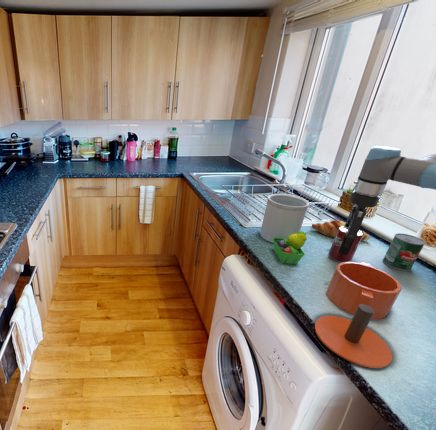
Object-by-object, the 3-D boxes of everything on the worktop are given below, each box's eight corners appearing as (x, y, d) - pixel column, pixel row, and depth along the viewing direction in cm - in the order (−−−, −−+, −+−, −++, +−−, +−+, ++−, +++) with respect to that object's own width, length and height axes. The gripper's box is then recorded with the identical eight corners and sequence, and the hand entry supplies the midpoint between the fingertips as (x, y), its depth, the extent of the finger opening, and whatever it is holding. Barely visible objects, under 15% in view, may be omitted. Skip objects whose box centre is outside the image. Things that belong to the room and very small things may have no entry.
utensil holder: (252, 236, 123) (261, 198, 116) (266, 226, 132) (276, 190, 125) (289, 250, 113) (302, 210, 106) (301, 238, 122) (314, 200, 115)
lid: (387, 338, 74) (407, 305, 70) (393, 383, 63) (416, 347, 58) (316, 310, 83) (329, 279, 78) (310, 346, 72) (325, 312, 67)
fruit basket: (269, 248, 114) (276, 223, 110) (293, 250, 113) (301, 225, 108) (278, 264, 104) (287, 237, 99) (305, 267, 103) (315, 240, 98)
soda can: (332, 262, 106) (344, 234, 101) (324, 252, 112) (334, 225, 107) (354, 265, 104) (367, 236, 99) (345, 255, 111) (357, 227, 106)
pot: (384, 294, 90) (397, 269, 86) (389, 334, 76) (405, 306, 72) (328, 276, 98) (338, 253, 94) (324, 309, 84) (335, 283, 80)
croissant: (363, 245, 125) (367, 227, 125) (374, 245, 115) (378, 226, 115) (307, 233, 132) (311, 216, 133) (313, 232, 123) (317, 214, 123)
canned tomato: (389, 256, 110) (402, 231, 106) (415, 268, 104) (430, 241, 99) (377, 261, 107) (390, 235, 103) (403, 272, 101) (417, 246, 96)
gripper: (353, 181, 108) (333, 230, 117) (352, 200, 90) (328, 256, 99) (378, 186, 104) (355, 236, 113) (383, 207, 86) (355, 265, 95)
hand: (343, 246), depth 106 cm, fingers open, 13 cm apart
